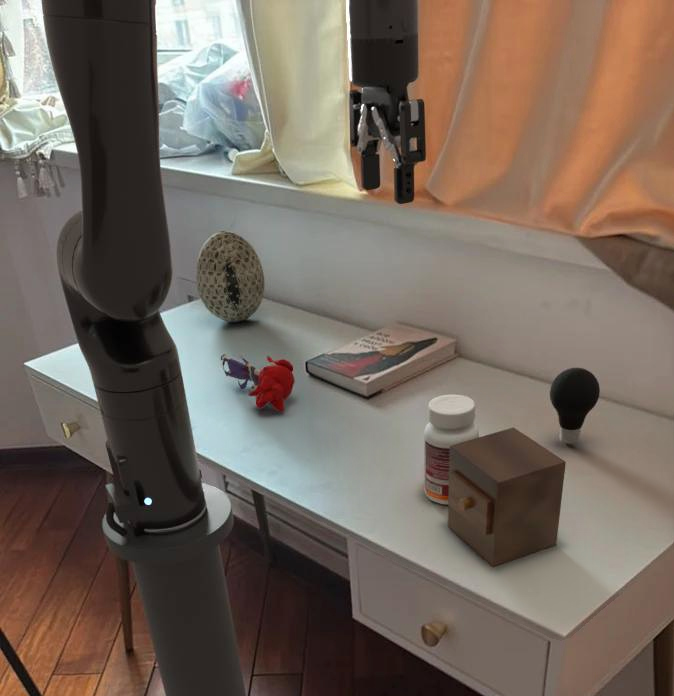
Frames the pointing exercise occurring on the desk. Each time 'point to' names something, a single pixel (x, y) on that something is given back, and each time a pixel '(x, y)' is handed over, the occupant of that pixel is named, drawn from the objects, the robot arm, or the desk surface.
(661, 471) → the desk surface
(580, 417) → the light bulb
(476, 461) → the box
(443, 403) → the pill bottle
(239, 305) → the decorative egg
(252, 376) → the figurine
